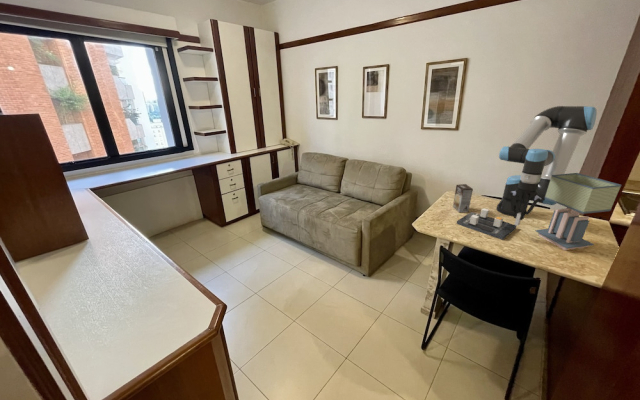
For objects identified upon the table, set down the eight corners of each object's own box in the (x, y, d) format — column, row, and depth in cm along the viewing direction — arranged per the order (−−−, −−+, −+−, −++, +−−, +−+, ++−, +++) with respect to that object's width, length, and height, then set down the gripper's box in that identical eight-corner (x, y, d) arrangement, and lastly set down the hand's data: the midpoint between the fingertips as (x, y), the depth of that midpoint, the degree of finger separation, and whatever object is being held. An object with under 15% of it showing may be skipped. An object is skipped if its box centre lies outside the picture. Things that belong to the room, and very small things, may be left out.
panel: (470, 214, 160) (471, 211, 159) (515, 228, 142) (516, 225, 141) (456, 223, 150) (457, 220, 149) (502, 240, 132) (503, 236, 131)
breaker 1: (472, 221, 146) (473, 214, 145) (477, 223, 144) (479, 216, 142) (469, 223, 145) (470, 216, 143) (475, 225, 143) (476, 218, 141)
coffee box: (452, 206, 172) (455, 184, 166) (461, 206, 172) (465, 183, 165) (458, 212, 163) (463, 189, 157) (469, 212, 163) (473, 188, 157)
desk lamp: (532, 233, 137) (551, 175, 124) (556, 230, 138) (577, 172, 125) (567, 252, 120) (592, 187, 107) (594, 249, 121) (622, 184, 108)
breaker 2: (482, 214, 153) (483, 208, 152) (487, 216, 151) (489, 209, 150) (479, 216, 152) (481, 209, 150) (485, 218, 150) (486, 211, 148)
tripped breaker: (495, 223, 143) (497, 216, 141) (501, 225, 141) (503, 218, 139) (493, 225, 141) (494, 218, 139) (499, 227, 139) (501, 219, 137)
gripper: (510, 180, 127) (499, 222, 136) (543, 186, 117) (529, 231, 126) (516, 177, 131) (505, 218, 140) (548, 182, 121) (534, 226, 130)
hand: (516, 224), depth 133 cm, fingers closed
